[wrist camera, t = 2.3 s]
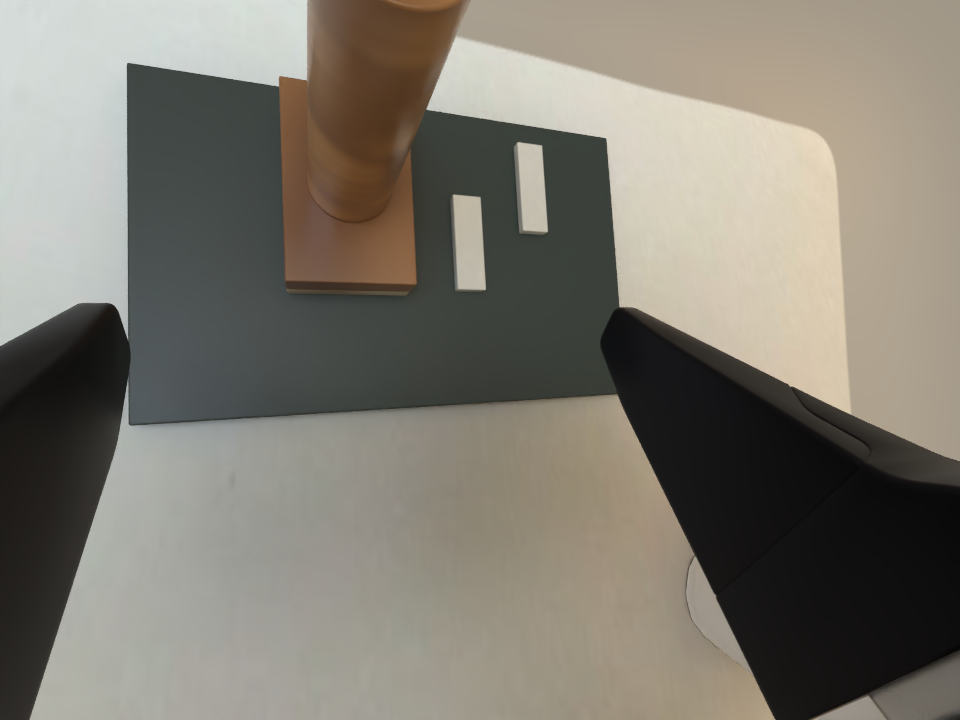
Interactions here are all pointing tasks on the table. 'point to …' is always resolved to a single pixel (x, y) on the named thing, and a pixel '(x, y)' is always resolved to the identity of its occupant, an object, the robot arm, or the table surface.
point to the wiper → (358, 142)
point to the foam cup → (710, 620)
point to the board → (350, 318)
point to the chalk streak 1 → (467, 243)
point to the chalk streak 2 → (530, 189)
